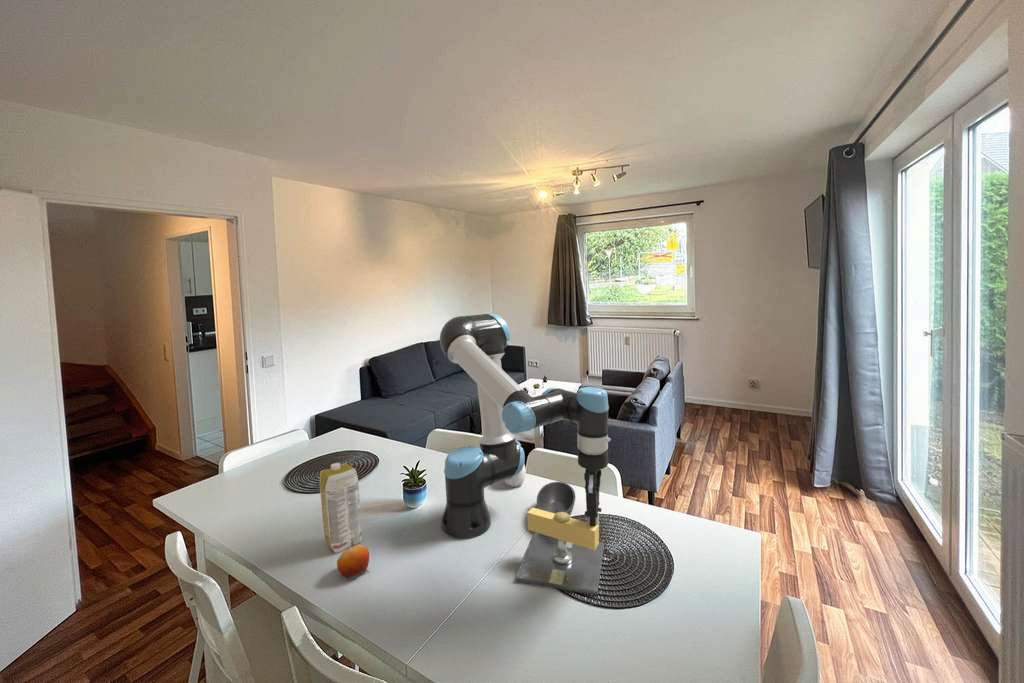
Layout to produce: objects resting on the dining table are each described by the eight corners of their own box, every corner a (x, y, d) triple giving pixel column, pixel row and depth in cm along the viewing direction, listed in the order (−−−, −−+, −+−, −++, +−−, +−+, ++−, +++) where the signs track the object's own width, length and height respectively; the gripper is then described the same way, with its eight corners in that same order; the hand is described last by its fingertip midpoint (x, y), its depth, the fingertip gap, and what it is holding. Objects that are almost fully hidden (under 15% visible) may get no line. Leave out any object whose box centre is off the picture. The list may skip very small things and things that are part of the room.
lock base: (515, 581, 108) (515, 554, 107) (534, 536, 127) (534, 513, 126) (597, 595, 102) (597, 567, 101) (604, 546, 121) (604, 522, 120)
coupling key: (526, 530, 116) (526, 510, 116) (533, 523, 120) (533, 503, 119) (594, 551, 107) (594, 529, 106) (599, 542, 110) (599, 521, 109)
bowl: (576, 500, 148) (576, 482, 147) (573, 537, 126) (573, 517, 125) (541, 497, 150) (541, 480, 149) (532, 533, 128) (532, 514, 128)
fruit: (356, 583, 106) (343, 553, 108) (340, 589, 110) (327, 559, 112) (381, 565, 113) (369, 536, 114) (365, 571, 117) (353, 543, 119)
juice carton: (353, 531, 132) (347, 456, 129) (365, 542, 126) (359, 464, 123) (322, 545, 125) (315, 466, 122) (333, 557, 120) (326, 474, 116)
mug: (527, 479, 164) (526, 459, 163) (524, 489, 156) (523, 468, 155) (496, 477, 166) (495, 458, 165) (491, 487, 158) (490, 467, 157)
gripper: (606, 461, 101) (606, 554, 104) (609, 441, 113) (609, 525, 116) (574, 458, 103) (575, 549, 106) (581, 439, 115) (581, 521, 118)
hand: (593, 536), depth 111 cm, fingers closed
